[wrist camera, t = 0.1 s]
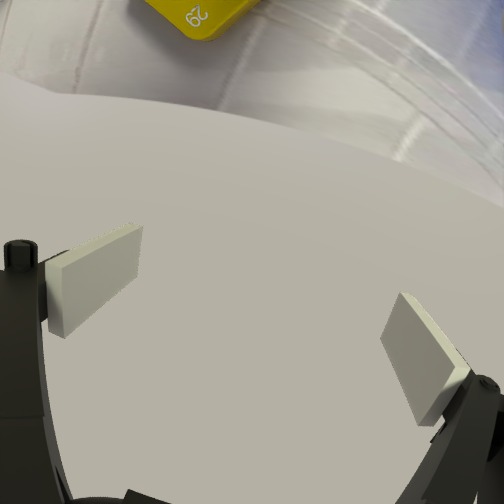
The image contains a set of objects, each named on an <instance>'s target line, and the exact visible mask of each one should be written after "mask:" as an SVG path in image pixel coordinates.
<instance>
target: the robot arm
mask: <svg viewBox="0 0 504 504" xmlns="http://www.w3.org/2000/svg"><path fill="white" fill-rule="evenodd" d="M142 229H143V226H140V225H136V224H133V223H128V224H126V225H124V226H121V227H119V228H117V229H114V230H112V231H110V232H108V233H106V234H103V235H101V236H99V237H97V238H95V239H93V240H90V241H88V242H86V243H84V244H82V245H80V246H78V247H75V248H73V249H71V250H66V251H63V252H61V253H59V254H57V255H55V256H52V257H51V258H49V259H46V260H44V261H42V262H40V263H38V246H37V244H36V243H35V242H33V241H29V240H13V241H9V242H7V243H6V244H5V245H4V265H5V269H4V271H3V270H0V504H170V503H167V502H164V501H161V500H158V499H155V498H152V497H149V496H146V495H143V494H141V493H138V492H135V491H133V490H130V489H128V490H127V492H126V495H125V497H124V499H119V498H110V497H87V498H79V499H74V500H73V497H72V494H71V492H70V489H69V486H68V483H67V480H66V477H65V473H64V469H63V466H62V462H61V458H60V454H59V450H58V445H57V441H56V436H55V431H54V426H53V421H52V415H51V410H50V403H49V397H48V390H47V383H46V374H45V365H44V354H43V341H42V328H41V322H42V321H44V320H45V319H46V318H48V329H49V332H51V333H53V334H55V335H57V336H59V337H62V338H64V339H65V338H66V337H67V336H68V335H69V334H70V333H72V332H73V331H74V330H75V329H76V328H77V327H78V326H80V325H81V324H82V323H83V322H84V321H85V320H86V319H87V318H89V317H90V316H91V315H92V314H93V313H95V312H96V311H97V310H98V309H99V308H100V307H102V306H103V305H104V304H105V303H106V302H107V301H109V300H110V299H111V298H112V297H113V296H114V295H115V294H117V293H118V292H119V291H121V290H122V289H123V288H124V287H125V286H126V285H128V284H129V283H130V282H131V281H133V280H134V279H135V278H136V277H137V271H138V262H139V252H140V245H141V237H142ZM380 339H381V341H382V344H383V346H384V348H385V350H386V352H387V354H388V357H389V359H390V361H391V363H392V366H393V368H394V370H395V372H396V374H397V377H398V379H399V382H400V384H401V386H402V389H403V391H404V393H405V396H406V398H407V400H408V403H409V405H410V407H411V410H412V412H413V415H414V417H415V420H416V422H417V425H418V426H434V425H435V423H436V422H437V421H438V419H439V418H440V416H441V415H443V417H444V419H445V422H444V424H443V425H442V426H441V428H440V429H439V430H438V432H437V433H436V435H435V436H434V437H433V439H432V440H431V441H430V443H432V445H431V446H430V448H429V450H428V452H427V454H426V455H425V457H424V459H423V461H422V462H421V464H420V466H419V467H418V469H417V471H416V473H415V474H414V476H413V477H412V479H411V481H410V482H409V484H408V485H407V487H406V488H405V490H404V491H403V493H402V495H401V496H400V497H399V499H398V500H397V502H396V503H395V504H473V503H474V500H475V497H476V494H477V504H504V395H502V394H500V388H499V386H498V384H497V383H496V382H494V381H493V380H492V379H491V378H489V377H486V376H484V375H476V374H475V373H474V372H473V370H472V369H471V368H470V366H469V365H468V363H466V361H465V359H464V358H463V357H462V355H461V354H460V353H459V352H458V350H457V349H456V348H455V347H454V346H453V345H452V343H451V342H450V341H449V339H448V338H447V337H446V336H445V334H444V333H443V332H442V331H441V329H440V328H439V327H438V326H437V324H436V323H435V322H434V320H433V319H432V318H431V317H430V316H429V314H428V313H427V312H426V311H425V310H424V308H423V307H422V306H421V305H420V303H419V302H418V301H417V300H416V299H415V298H414V296H413V295H411V294H407V293H403V292H399V295H398V297H397V300H396V303H395V305H394V307H393V310H392V312H391V315H390V317H389V319H388V322H387V324H386V326H385V329H384V331H383V333H382V335H381V338H380ZM477 492H478V493H477Z"/></svg>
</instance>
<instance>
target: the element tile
mask: <svg viewBox="0 0 504 504" xmlns="http://www.w3.org/2000/svg"><path fill="white" fill-rule="evenodd" d="M145 1H146V2H147V3H148V4H150V5H151V6H152V7H153V8H154V9H156V10H157V11H158V12H159V13H160V14H162V15H163V16H164V17H165V18H166V19H167V20H169V21H170V22H171V23H172V24H173V25H174V26H176V27H177V28H178V29H179V30H180V31H181V32H182V33H184V34H185V35H186V36H187V37H189V38H191V39H194V40H200V41H212V40H214V39H217V38H218V37H220V36H221V35H222V34H223V33H224V32H225V31H227V30H228V29H229V28H230V27H231V26H232V25H233V24H234V23H236V22H237V21H238V20H239V19H240V18H241V17H242V16H244V15H245V14H246V13H247V12H248V11H249V10H251V9H252V8H253V7H254V6H255V5H257V4H258V3H259V2H260V1H262V0H145Z"/></svg>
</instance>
